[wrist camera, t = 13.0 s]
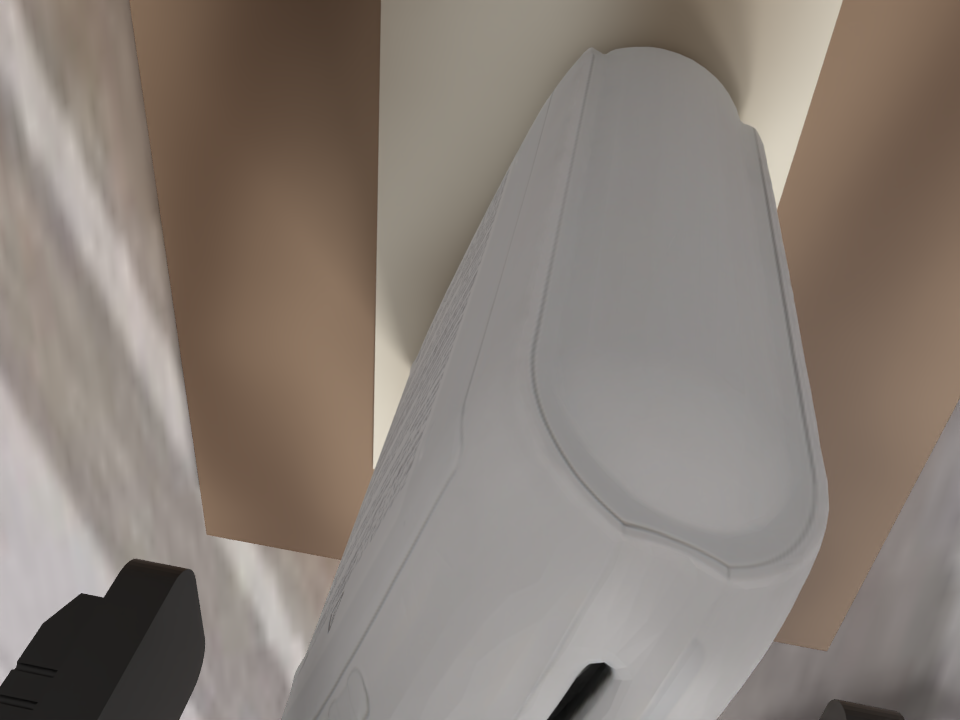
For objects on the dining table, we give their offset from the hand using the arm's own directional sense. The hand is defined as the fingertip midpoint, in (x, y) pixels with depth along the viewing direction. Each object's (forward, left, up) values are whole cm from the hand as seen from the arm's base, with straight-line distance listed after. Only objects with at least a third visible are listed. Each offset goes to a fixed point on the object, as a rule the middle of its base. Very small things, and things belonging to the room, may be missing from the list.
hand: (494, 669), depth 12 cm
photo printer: (0, 0, -10) cm, 10 cm away
